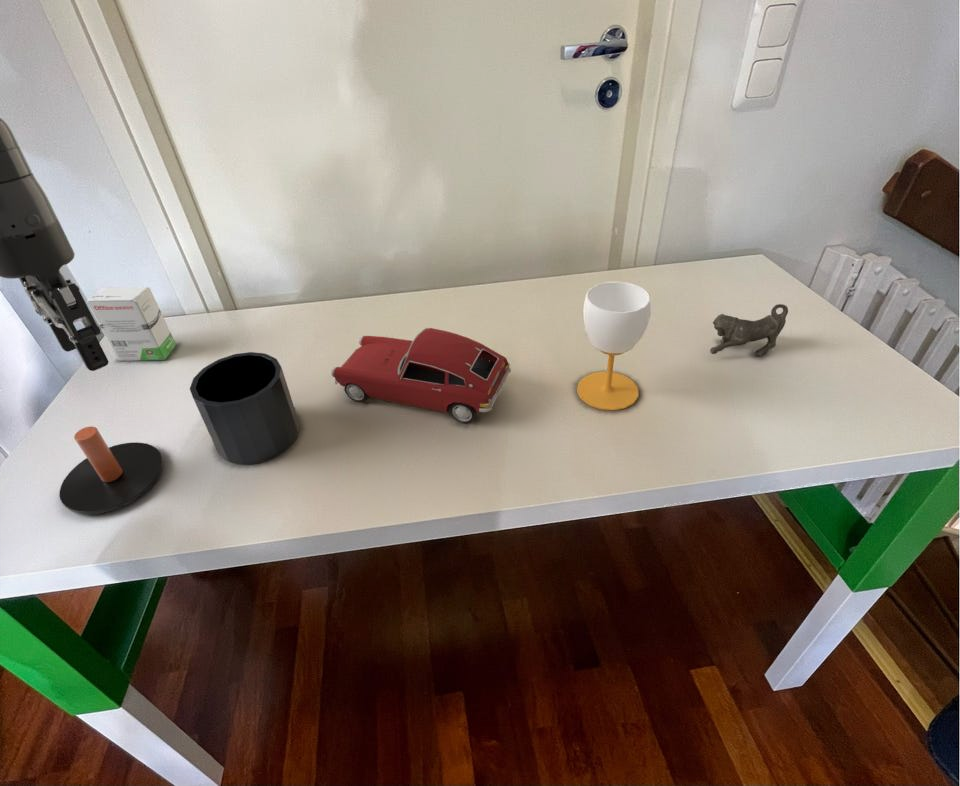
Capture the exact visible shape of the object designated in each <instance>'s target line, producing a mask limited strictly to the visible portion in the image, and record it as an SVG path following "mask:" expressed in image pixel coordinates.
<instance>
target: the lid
mask: <svg viewBox="0 0 960 786" xmlns="http://www.w3.org/2000/svg"><path fill="white" fill-rule="evenodd" d="M73 437H74V438H73V439H74V441H75V442H76V444H77V445H78V447H79V448H80V450H81V451H82V452H83V455H85V457H86V458H84V459H83V460H82V461H81V462H79V463H78V464H77V465H75V466H74V467H73V468H72V469H71V470H70V471H69V472H68V473H67V475H66V476H65V478H64V479H63V481H62V483H61V485H60V488H59V500H60V502H61V503H62V505H63V506H64V508H66V509H67V510H68V511H70V512H73V513H75V514H79V515H96V514H103V513H107V512H111V511H114V510H117V509H119V508H122V507H124V506H126V505H128V504H130V503H132V502H134V501H135V500H137V499H138V498H140V497H142V495H143V494H145V493H146V492H147V491H149V490H150V489H151V488H152V487H153V485H154V484H155V483H156V482H157V481H158V479H159V477H160V476H161V474H162V472H163V469H164V457H163V455H162V453H161V452H160V450H159V449H158V447H155V446H153V445H151V444H149V443H145V442H135V441H134V442H124V443H118V444H115V445H112V446H108V444H107V442H106V441H105V439H104V438H103V436H102V434H101V433H100V431H99V429H98V428H97V427H96V426H91V425H90V426H86V427H83V428H81V429H79V430H78V431H77V432H76V433H75V434H74V436H73Z"/></svg>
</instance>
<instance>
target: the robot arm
mask: <svg viewBox="0 0 960 786" xmlns="http://www.w3.org/2000/svg"><path fill="white" fill-rule="evenodd" d="M58 218H59V217H58V216H57V214H56V211H55V210H54V208H53V205H52V204H51V201H50V200H49V197H48V196H47V194H46V192H45V190H44V189H43V188H42V186H41V184H40V183H39V182H38V180H37V178H36V176H35V175H34V173H33V172H32V169H31V167H30V165H29V163H28V161H27V158H26V157H25V154H24V151H22V148H21V146H20V145H19V142H18V140H17V138H16V135H14V132H13V130H12V129H11V127H10V125H9V124H8V123H7V122H6V121H5V119H3V118H1V117H0V277H1V278H3V279H8V280H9V279H11V280H12V279H19V281H20V283H21V285H22V286H23V289H24V292H25V294H26V295H27V296H28V298H29V299H30V301H31V304H32V306H33V308H34V309H35V310H34V311H35V313H36V314H38V315H39V316H40V317H41V316H42V321H43V322H44V323H46V324H47V325H49V327H50V330H51V331H52V333H53V335H54V337H55V338H56V341H57V342H58V344H59V347H61V349H62V350H63V351H64V352H67V353H69V352H71V351H74V350H76V351H77V352H78V354H79V356H80V358H81V361H82V362H83V364H84V366H85V368H86V369H87V370H88V371H90V372H95V371H97V370H99V369H102V368H104V367H106V366H108V365H109V360H108V358H107V355H106V353H105V351H104V350H103V347H102V345H101V343H100V342H99V341H100V340H99V339H98V337H97V336H99V335H101V334H102V333H101V328H100V326H99V325H98V323H97V321H96V319H95V317H94V315H93V313H92V312H91V310H90V308H89V306H88V304H87V302H86V301H85V299H84V297H83V295H82V293H81V291H80V287H79V286H78V285H76V283H74V282H73V281H72V280H71V279H66V277H64V275H63V274H62V273H61V271H60V269H61V268H62V267H63V266H66V265H68V264H69V263H71V262H72V261H73V260H74V259H75V254H76V253H75V251H74V249H73V247H72V245H71V243H70V241H69V239H68V237H67V235H66V232H65V231H64V229H63V226H62V225H61V222H60V220H59V219H58ZM76 322H81V323H82V324H83V325H84V327H82V328H79V329H77V328H76V325H75V324H74V323H76Z"/></svg>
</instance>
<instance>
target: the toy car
mask: <svg viewBox="0 0 960 786" xmlns="http://www.w3.org/2000/svg"><path fill="white" fill-rule="evenodd" d="M358 343H359V347H357V348H356V349H354V351H353V352H352V353H351V354H350V356H349V357H348V358H347V359H346V360H345V362H343V363H342V365H341V366H334V367H333V368H332V369H331V372H330V373H331V374H330V375H331V376H332V378H334V384H335V385H338V384H339V385H340V386H341V387H343V389H344V390H343V391H344V392H345V395H346V396H347V397H348V398H349V399H351V400H352V401H355V402H356V403H362V402H365V401H366V400H367V399H368V398H369V397H370V398H371V399H377V400H382V401H387V402H391V403H395V404H403V405H406V406H412V407H417V408H421V409H426V410H431V411H436V412H440V413H441V412H442V413H447V414H449V413H450V414H451V416H452V418H453V419H454V420H456V421H457V422H461V423H464V424H468V423H473V421H474V420H475V419H476V417H477V415H478V414H481V413H486V412H487V413H488V412H491V411H492V410H493V406H494V404H495V403H496V401H497V399H498V397H499V396H500V393H501V392H502V389H503V387H504V384H505V383H506V380H507V378H508V376H509V374H510V373H511V372H512V369H511V367H510V366H511V364H510V362H509V361H508V359H507V357H505V356H504V355H502V354H500V353H498V352H497V351H495V350H493V349H491V348H490V347H488V346H486V345H485V344H483V343H482V342H479V341H477V340H474V339H472V338H469V337H467V336H463V335H461V334H458V333H454V332H452V331H447V330H444V329H438V328H434V327H433V328H432V327H425V328H423V330H421V331H420V332H419V333H418V334H416V336H415V337H414V339H413V340H410V339H403V338H395V337H388V336H377V335H361V336H360V337H359V340H358Z"/></svg>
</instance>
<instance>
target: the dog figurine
mask: <svg viewBox="0 0 960 786" xmlns="http://www.w3.org/2000/svg"><path fill="white" fill-rule="evenodd" d="M778 309H782V311H781V313H777V310H778ZM788 313H789V307H788V305H785V304H781V303H779V304H775V305H774V306H773V307H772V309H771V311H770V314H768V315H766V316H764V317H762V318H761V319H755V320H748V319H743V318H739V317H737V316H731V315H727V314H724V313H721V314H719V315H717V316H716V317H715V318H714V320H713V321H712V324H713V328H714V329H715V330H716V331H717V332H716V334H717V336H718V337H721V340H720V341H719V344H718V345H716V346H712V347H711V348H710V350H709V351H710V354H711V355H716V354H718V353H719V352H723V351H724V349H727V348H731V347H739V346H744V345H747V344H748V343H752V342H757V341H760V340H763V339H766V340H767V342H766V343H765V344H764V345H763V346H761V347H760V348H758V349H757V350H756V351H755V352H754V354H755V355H756V356H757V357H762V356H763V354H766V353H767V352H768V351H770V350H771V349H774V348H775V347H776V346H777V339H778V337H779V335H780V334H781V332H782V330H783V329H784V328H785V325H786V322H787V321H786V320H787V319H786V318H787V316H788Z"/></svg>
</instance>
